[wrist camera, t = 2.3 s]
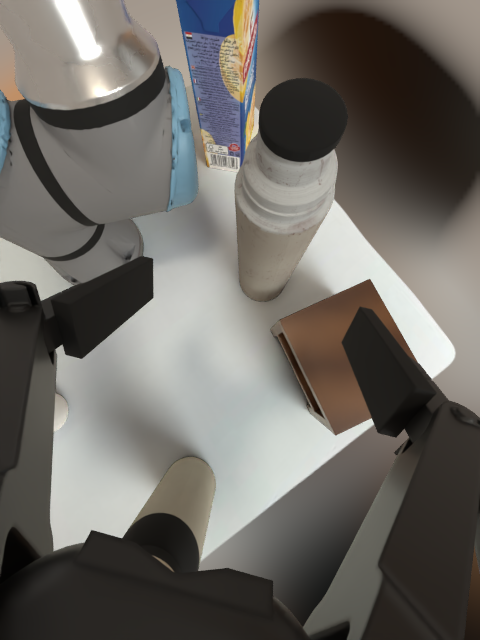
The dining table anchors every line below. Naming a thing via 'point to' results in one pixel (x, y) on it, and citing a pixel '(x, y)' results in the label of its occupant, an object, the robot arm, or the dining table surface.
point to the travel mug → (177, 516)
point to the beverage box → (222, 74)
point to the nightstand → (331, 354)
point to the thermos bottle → (286, 182)
